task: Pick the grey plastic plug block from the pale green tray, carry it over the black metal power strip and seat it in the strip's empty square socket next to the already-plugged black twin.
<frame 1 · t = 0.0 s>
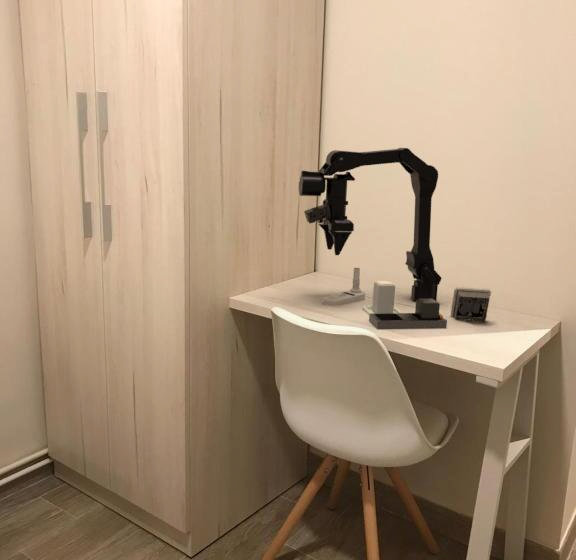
hand: (333, 252, 175), 15 cm above the table, fingers open, 9 cm apart
plug: (382, 312, 167), resting on tray
tray: (382, 314, 168), on the table
electrical switch: (470, 322, 165), on the table
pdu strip: (407, 326, 157), on the table
electronic device: (344, 304, 179), on the table
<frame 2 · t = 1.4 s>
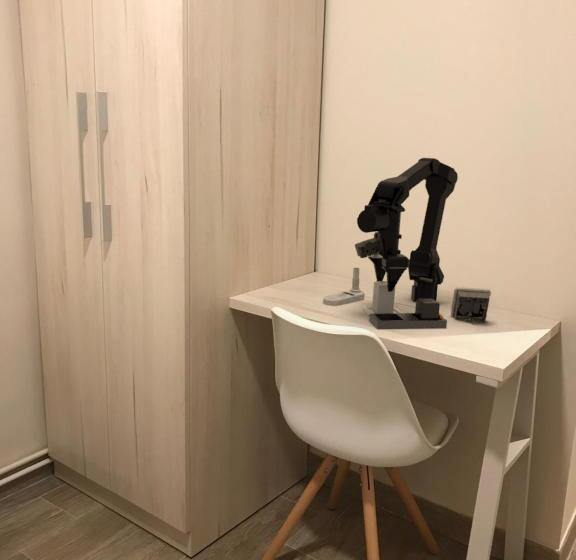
hand: (384, 287, 166), 8 cm above the table, fingers open, 9 cm apart
nothing on the table moved.
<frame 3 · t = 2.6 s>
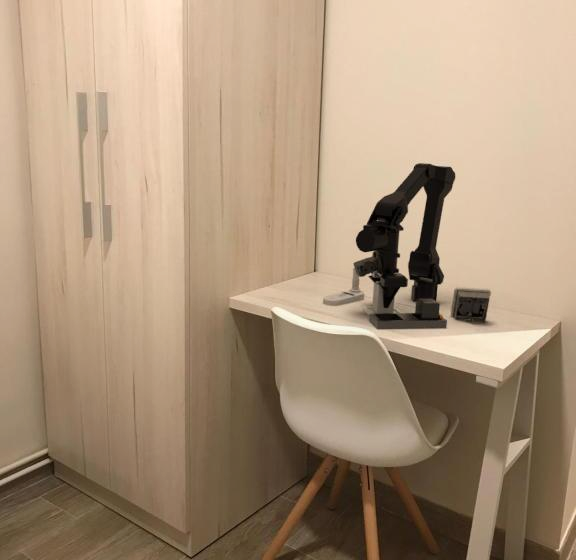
hand: (383, 305, 167), 3 cm above the table, fingers closed on plug, 4 cm apart
plug: (382, 312, 167), resting on tray, touching gripper
everything else where it was.
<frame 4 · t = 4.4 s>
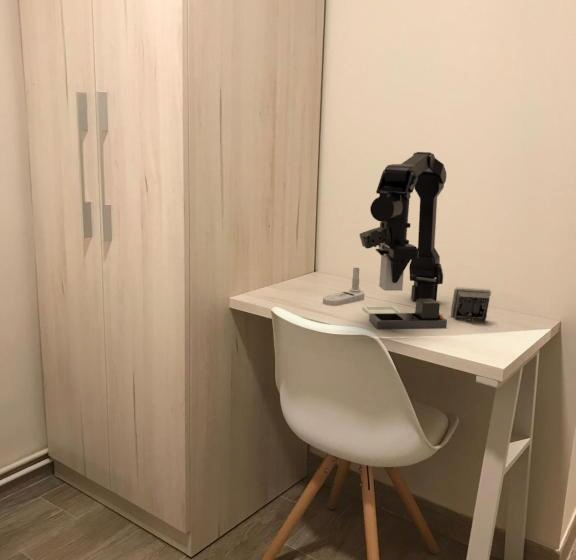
hand: (391, 280, 154), 12 cm above the table, fingers closed on plug, 4 cm apart
plug: (390, 288, 155), point 10 cm above the table, touching gripper
everything else where it was.
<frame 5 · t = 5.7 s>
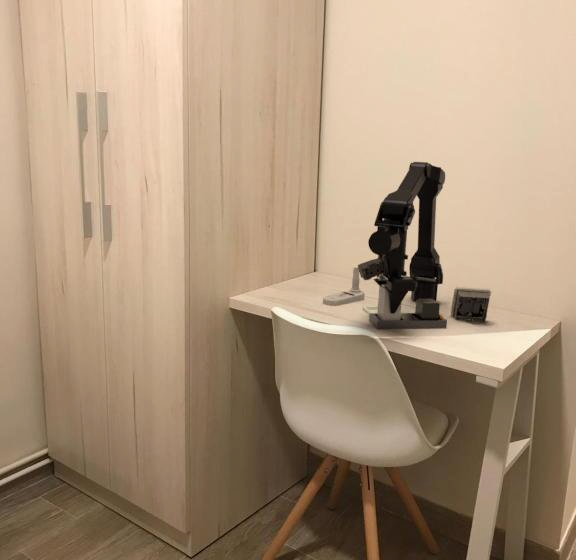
hand: (389, 310, 156), 4 cm above the table, fingers closed on plug, 4 cm apart
plug: (388, 318, 156), point 2 cm above the table, touching gripper
everything else where it was.
when the fingers open (3 cm above the table, at t = 6.6 s): plug stays where it is, resting on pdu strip.
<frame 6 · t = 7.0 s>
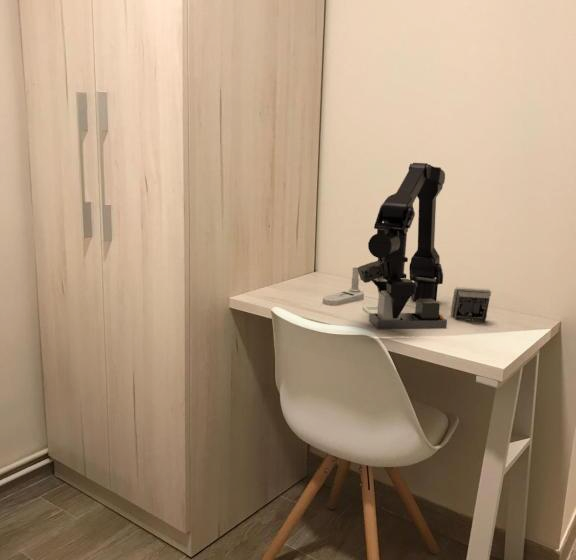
hand: (389, 313, 156), 3 cm above the table, fingers open, 9 cm apart
plug: (388, 324, 157), resting on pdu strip
everything else where it was.
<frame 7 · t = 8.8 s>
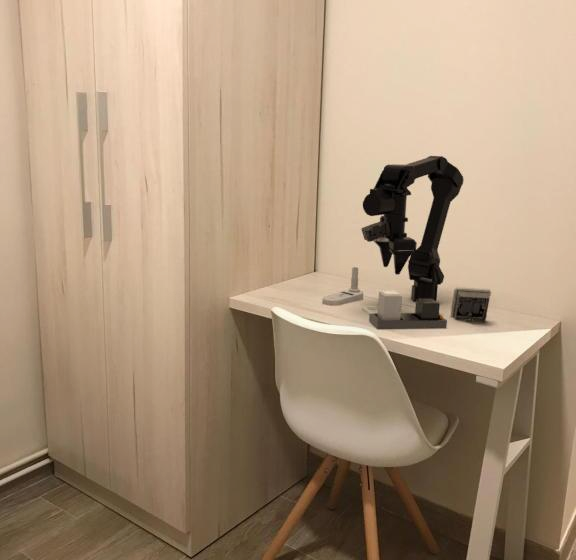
hand: (391, 270, 168), 12 cm above the table, fingers open, 9 cm apart
nothing on the table moved.
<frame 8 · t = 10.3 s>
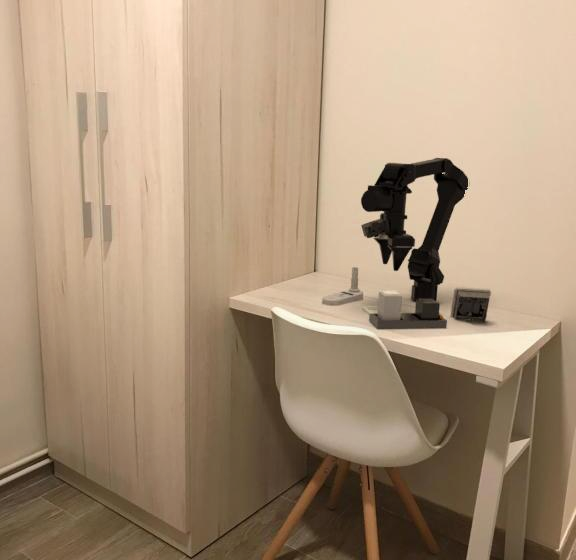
hand: (390, 267, 170), 12 cm above the table, fingers open, 9 cm apart
nothing on the table moved.
at the end: plug 0.0 cm from the target spot on the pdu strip, point 0.5 cm above the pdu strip's base; plug tilted 0°; the gripper is holding nothing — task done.
